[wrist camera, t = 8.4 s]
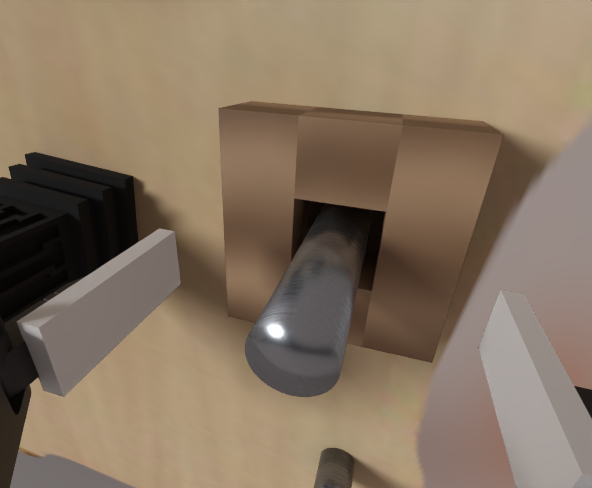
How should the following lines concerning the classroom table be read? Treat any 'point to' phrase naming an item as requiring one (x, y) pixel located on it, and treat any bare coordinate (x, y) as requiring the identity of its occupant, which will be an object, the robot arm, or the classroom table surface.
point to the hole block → (355, 193)
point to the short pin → (334, 469)
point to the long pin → (312, 306)
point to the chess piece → (59, 226)
